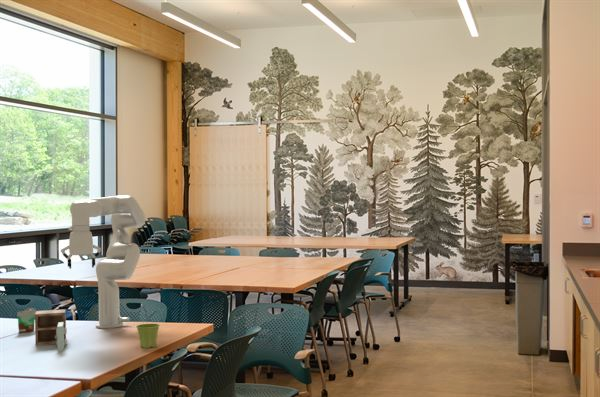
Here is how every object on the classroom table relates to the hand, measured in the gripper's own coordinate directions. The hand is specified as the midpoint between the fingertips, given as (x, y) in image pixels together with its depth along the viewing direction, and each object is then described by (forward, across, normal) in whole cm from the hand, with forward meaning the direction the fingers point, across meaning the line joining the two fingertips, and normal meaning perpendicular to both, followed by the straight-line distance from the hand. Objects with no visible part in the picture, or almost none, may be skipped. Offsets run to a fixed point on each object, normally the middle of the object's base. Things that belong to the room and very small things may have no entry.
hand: (81, 267), depth 342 cm
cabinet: (+30, -13, -12) cm, 35 cm away
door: (+30, -8, -24) cm, 40 cm away
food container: (+31, -24, +22) cm, 45 cm away
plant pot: (+31, +26, -34) cm, 53 cm away
